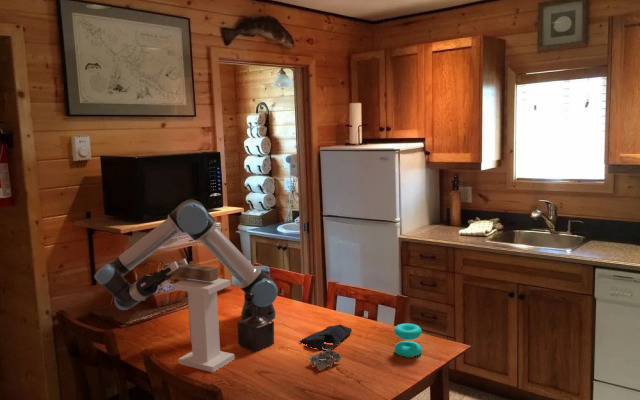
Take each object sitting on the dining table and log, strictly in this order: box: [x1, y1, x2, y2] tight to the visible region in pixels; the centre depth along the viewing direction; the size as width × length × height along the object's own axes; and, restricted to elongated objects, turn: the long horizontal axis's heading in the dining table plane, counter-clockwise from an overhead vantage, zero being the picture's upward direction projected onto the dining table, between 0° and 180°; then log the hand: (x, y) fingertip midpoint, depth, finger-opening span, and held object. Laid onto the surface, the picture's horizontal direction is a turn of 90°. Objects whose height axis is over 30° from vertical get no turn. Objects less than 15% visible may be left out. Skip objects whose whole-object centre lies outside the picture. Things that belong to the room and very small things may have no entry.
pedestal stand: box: [173, 277, 236, 373], centre depth 197 cm, size 16×12×30 cm
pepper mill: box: [237, 293, 275, 353], centre depth 213 cm, size 16×11×18 cm
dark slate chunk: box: [299, 324, 353, 350], centre depth 217 cm, size 15×22×5 cm
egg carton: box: [308, 349, 343, 369], centre depth 194 cm, size 11×8×4 cm
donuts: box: [393, 322, 423, 358], centre depth 201 cm, size 10×10×10 cm
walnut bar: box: [162, 261, 219, 282], centre depth 197 cm, size 22×4×4 cm, turn 61°
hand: (181, 263), depth 199 cm, fingers closed on walnut bar, 4 cm apart
